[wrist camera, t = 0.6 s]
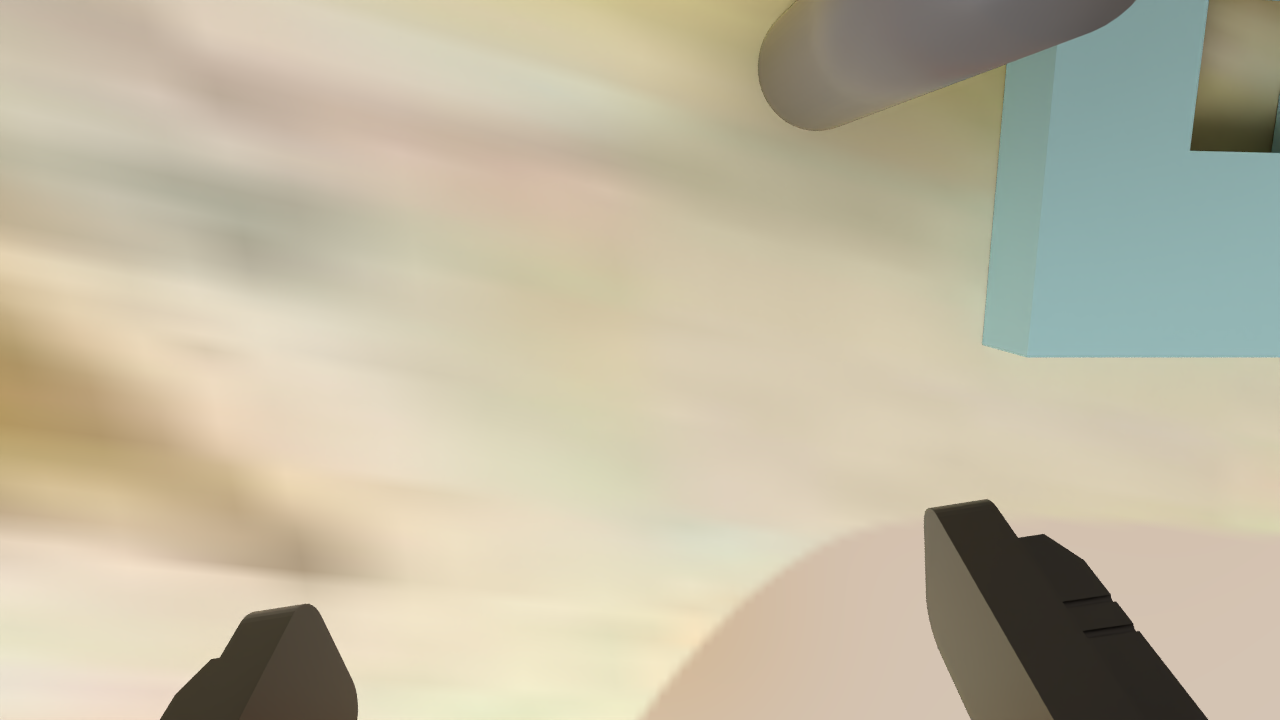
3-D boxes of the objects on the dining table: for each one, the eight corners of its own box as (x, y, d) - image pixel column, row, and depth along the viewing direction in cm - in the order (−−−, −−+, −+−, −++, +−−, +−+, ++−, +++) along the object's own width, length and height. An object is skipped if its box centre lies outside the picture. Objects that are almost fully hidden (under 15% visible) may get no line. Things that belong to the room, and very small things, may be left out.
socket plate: (1032, -232, 27) (1111, -309, 23) (1451, -201, 29) (1593, -270, 25) (982, 344, 30) (1043, 362, 26) (1360, 345, 32) (1472, 361, 28)
